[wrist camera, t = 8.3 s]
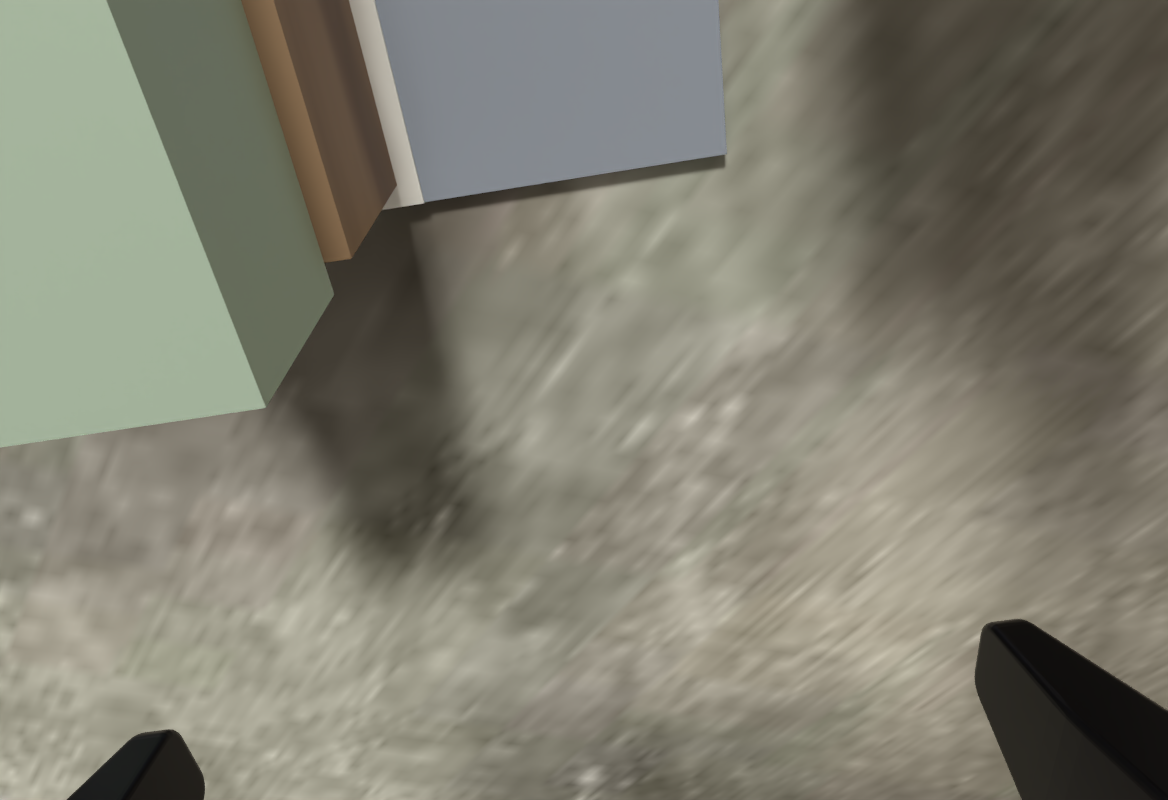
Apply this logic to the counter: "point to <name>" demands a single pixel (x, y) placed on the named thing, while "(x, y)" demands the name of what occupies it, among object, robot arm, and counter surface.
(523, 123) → the mat
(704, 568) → the counter surface
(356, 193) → the tan wood block
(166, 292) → the plank
